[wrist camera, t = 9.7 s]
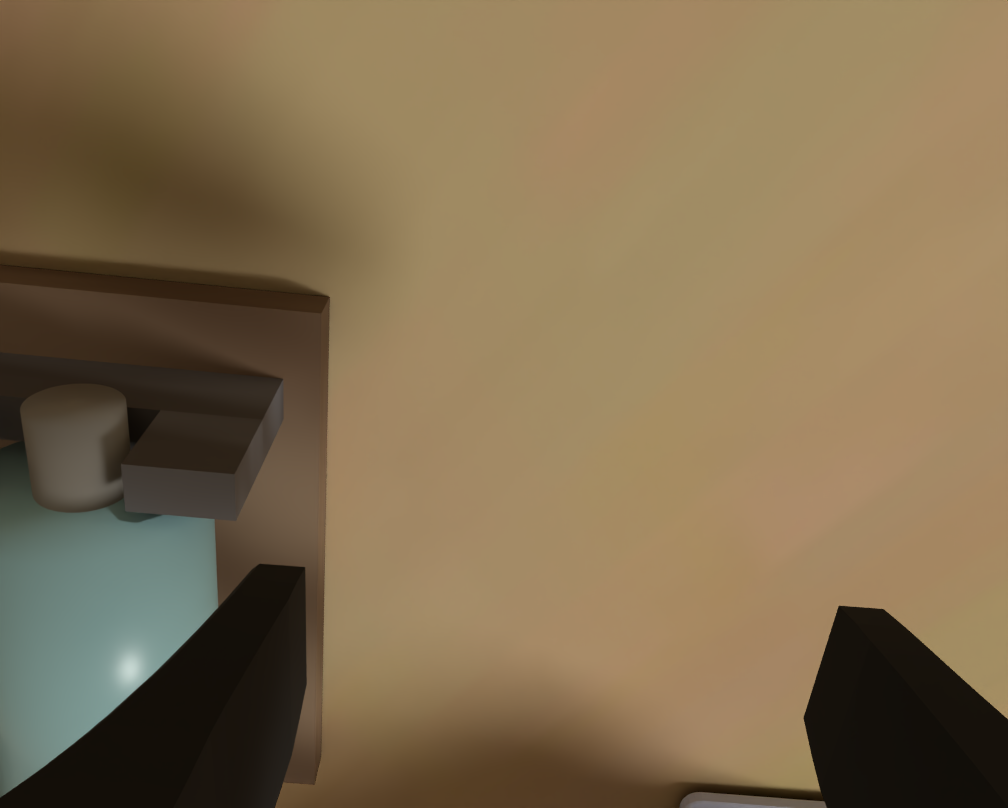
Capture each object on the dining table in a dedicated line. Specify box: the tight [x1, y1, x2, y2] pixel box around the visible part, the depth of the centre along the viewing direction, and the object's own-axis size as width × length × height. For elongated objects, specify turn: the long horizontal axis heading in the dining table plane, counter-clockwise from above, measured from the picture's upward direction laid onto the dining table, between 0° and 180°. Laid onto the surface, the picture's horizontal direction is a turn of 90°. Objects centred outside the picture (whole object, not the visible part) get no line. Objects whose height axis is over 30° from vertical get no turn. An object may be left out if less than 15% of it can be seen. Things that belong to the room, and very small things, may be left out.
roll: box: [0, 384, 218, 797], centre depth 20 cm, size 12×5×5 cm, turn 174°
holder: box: [0, 265, 330, 785], centre depth 21 cm, size 14×9×5 cm, turn 174°
